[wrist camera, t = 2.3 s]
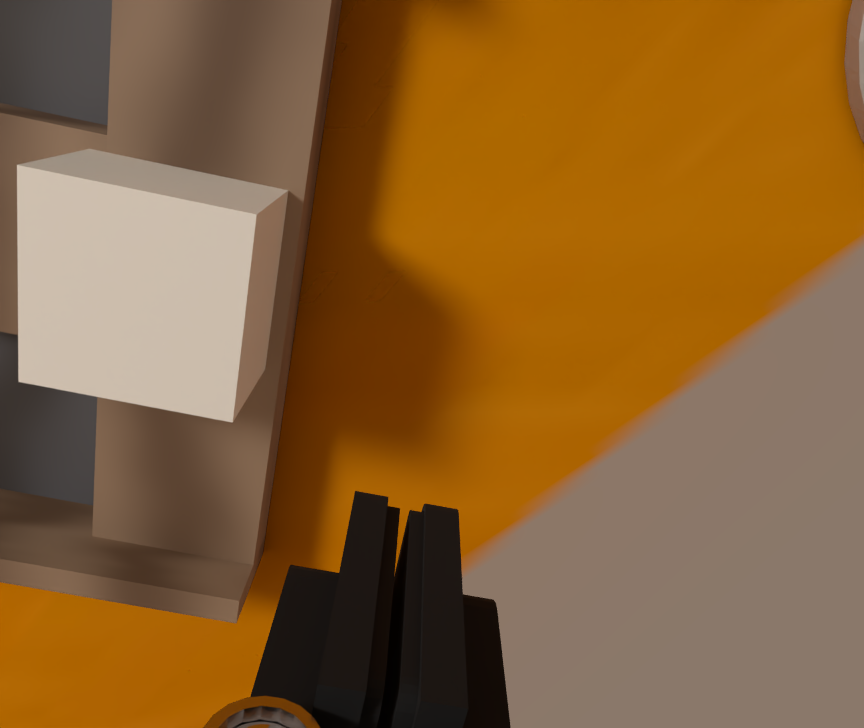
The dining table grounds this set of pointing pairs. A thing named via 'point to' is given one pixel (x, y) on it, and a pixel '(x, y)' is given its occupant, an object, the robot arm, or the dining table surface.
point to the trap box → (131, 423)
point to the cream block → (145, 281)
